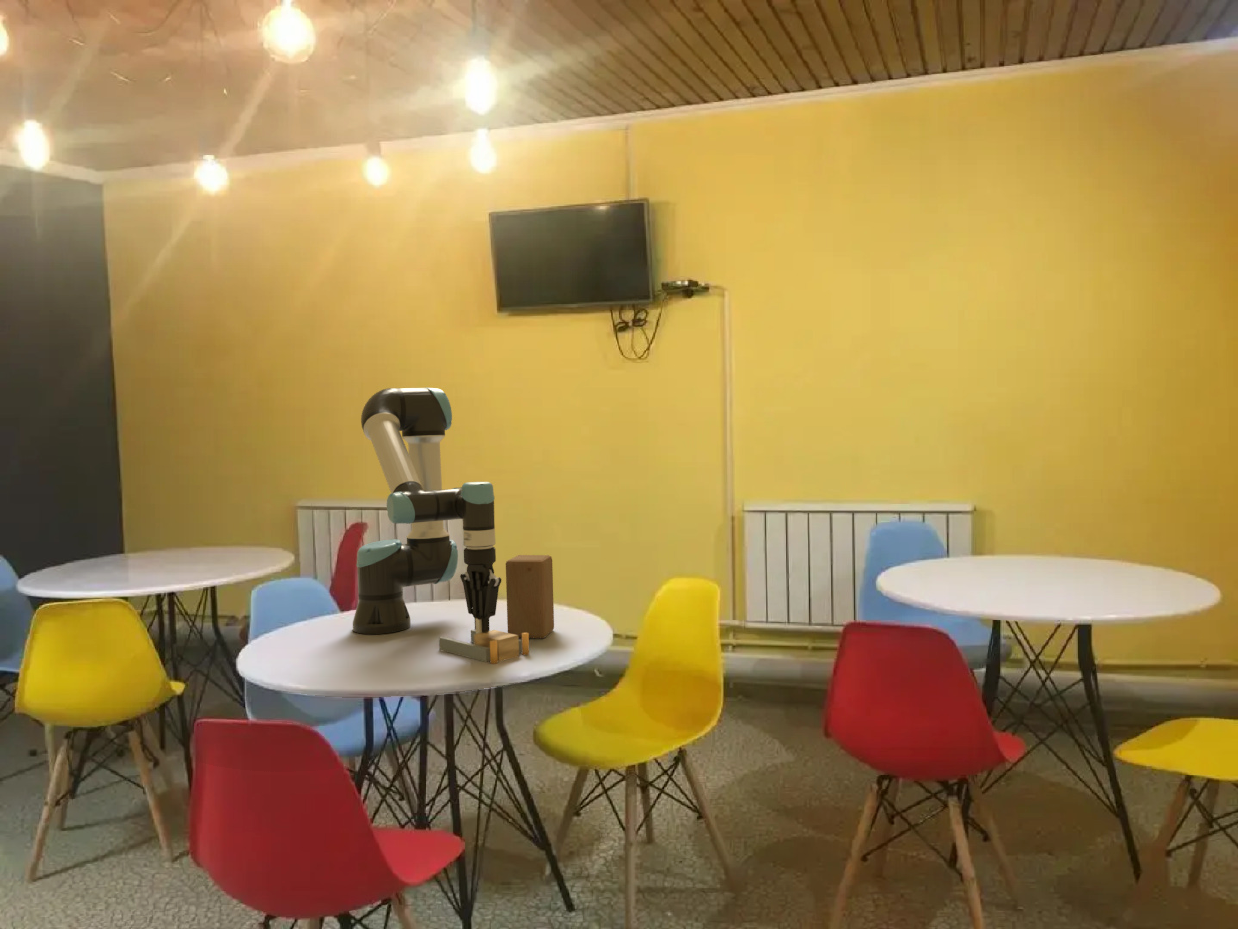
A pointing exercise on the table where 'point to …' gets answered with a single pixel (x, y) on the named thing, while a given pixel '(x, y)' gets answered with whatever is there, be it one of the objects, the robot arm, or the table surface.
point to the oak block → (499, 643)
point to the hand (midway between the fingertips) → (482, 644)
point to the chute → (479, 648)
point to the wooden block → (530, 595)
